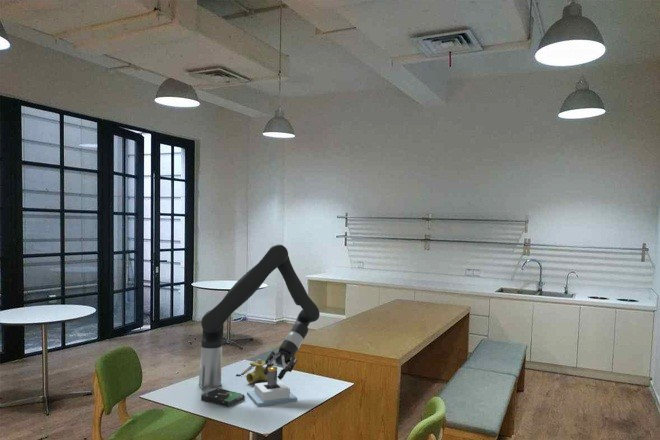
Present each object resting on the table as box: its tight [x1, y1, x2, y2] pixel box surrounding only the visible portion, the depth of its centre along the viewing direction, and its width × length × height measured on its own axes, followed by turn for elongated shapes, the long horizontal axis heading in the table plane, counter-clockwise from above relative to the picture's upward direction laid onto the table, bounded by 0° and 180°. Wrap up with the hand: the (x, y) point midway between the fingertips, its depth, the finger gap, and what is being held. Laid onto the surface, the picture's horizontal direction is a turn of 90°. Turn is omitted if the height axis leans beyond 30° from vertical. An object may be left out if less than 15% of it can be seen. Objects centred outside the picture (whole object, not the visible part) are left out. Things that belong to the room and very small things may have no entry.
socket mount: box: [246, 380, 298, 407], centre depth 194 cm, size 17×15×5 cm
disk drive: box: [200, 388, 246, 408], centre depth 190 cm, size 10×3×15 cm
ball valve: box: [245, 358, 268, 384], centre depth 215 cm, size 13×10×10 cm
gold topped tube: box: [266, 366, 278, 389], centre depth 194 cm, size 4×4×11 cm
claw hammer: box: [235, 365, 255, 378], centre depth 231 cm, size 21×7×1 cm, turn 167°
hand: (271, 376), depth 194 cm, fingers open, 8 cm apart
